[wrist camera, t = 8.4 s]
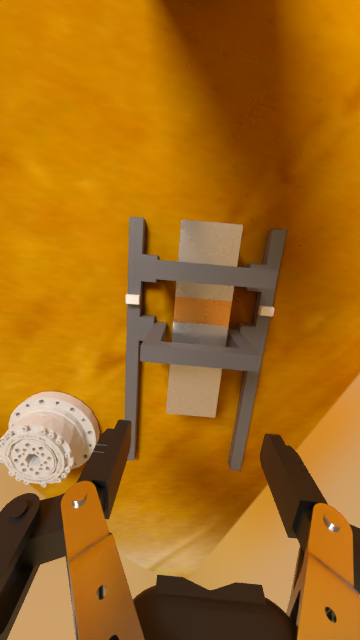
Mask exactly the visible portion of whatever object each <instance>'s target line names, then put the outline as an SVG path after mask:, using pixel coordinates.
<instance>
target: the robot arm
mask: <svg viewBox="0 0 360 640" xmlns="http://www.w3.org/2000/svg"><path fill="white" fill-rule="evenodd" d="M131 425H132V422H131V421H129V420H118V422H117V424H116V426H115V429H107V430H106V431H105V432H104V433H103V434H102V435H101V436H100V438H99V440H98V442H97V444H96V446H95V448H94V450H93V452H92V454H91V456H90V458H89V460H88V462H87V464H86V466H85V468H84V470H83V472H82V474H81V476H80V478H79V479H78V481H77V483H76V484H74V485H72V486H71V487H70V488H69V489H68V490H67V491H66V492H65V493H64V494H62V495H60V496H56V497H53V498H49V499H45V500H41V501H40V500H39V497H38V496H37V495H36V494H33V493H27V494H23V495H20V496H18V497H17V498H15V499H13V500H12V501H10V502H9V503H8V504H7V505H6V506H5V507H4V508H3V509H2V511H1V512H0V640H7V638H8V636H9V633H10V631H11V629H12V626H13V624H14V622H15V620H16V617H17V615H18V613H19V611H20V608H21V606H22V604H23V602H24V600H25V597H26V595H27V593H28V591H29V588H30V586H31V584H32V581H33V579H34V577H35V575H36V572H37V570H38V568H39V566H40V564H43V563H46V562H49V561H52V560H55V559H58V558H61V557H64V556H66V562H67V570H68V579H69V586H70V594H71V602H72V610H73V619H74V628H75V635H76V640H360V597H359V594H360V528H357V527H355V526H352V525H350V524H349V523H348V522H347V520H346V519H345V518H344V516H343V515H342V514H341V513H340V512H338V511H337V510H336V509H335V508H333V507H331V506H329V505H328V504H327V502H326V500H325V499H324V497H323V495H322V493H321V492H320V490H319V488H318V487H317V485H316V483H315V482H314V480H313V478H312V477H311V475H310V473H308V470H307V468H306V466H305V465H304V463H303V462H302V460H301V458H300V456H299V455H298V453H297V452H296V451H295V450H294V449H293V448H292V447H291V446H287V445H285V443H284V441H283V439H282V438H281V436H280V435H276V434H265V436H264V440H263V445H262V449H261V453H260V461H261V466H262V469H263V471H264V474H265V477H266V479H267V482H268V485H269V487H270V490H271V492H272V495H273V498H274V501H275V503H276V506H277V509H278V511H279V514H280V517H281V519H282V522H283V525H284V527H285V530H286V533H287V535H288V537H289V538H297V539H298V541H299V543H300V548H299V552H298V558H297V563H296V569H295V575H294V580H293V586H292V591H291V596H290V601H289V605H288V608H287V612H286V613H285V612H284V611H283V610H282V609H281V608H280V607H278V606H277V605H276V604H275V603H273V602H272V601H270V600H269V599H267V598H265V596H264V593H263V588H262V585H256V584H246V583H233V584H230V585H227V586H224V587H221V588H218V589H215V590H207V589H205V588H203V587H201V586H199V585H197V584H195V583H193V582H191V581H189V580H187V579H185V578H183V577H174V576H164V575H157V583H156V586H153V587H150V588H148V589H146V590H144V591H143V592H141V593H140V594H139V595H138V596H136V597H135V598H134V599H132V596H131V593H130V590H129V586H128V583H127V580H126V576H125V573H124V570H123V566H122V563H121V560H120V557H119V553H118V550H117V547H116V543H115V540H114V537H113V535H112V533H109V530H108V527H107V524H106V520H105V519H109V517H110V514H111V511H112V507H113V504H114V501H115V497H116V494H117V491H118V488H119V484H120V481H121V478H122V475H123V471H124V468H125V465H126V461H127V458H128V455H129V451H130V446H131Z"/></svg>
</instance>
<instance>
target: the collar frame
mask: <svg viewBox="0 0 360 640" xmlns="http://www.w3.org/2000/svg"><path fill="white" fill-rule="evenodd" d="M145 222H146V221H145V219H144V218H139V217H130V218H129V260H128V294H127V295H126V304H127V344H126V387H125V420H129V421H131V422H132V425H131V446H130V451H129V455H128V458H127V460H133V461H134V459H135V455H136V443H137V418H138V394H139V369H140V361H143V362H154V363H165V364H176V365H187V366H198V367H209V368H220V369H231V370H242V371H244V375H243V381H242V387H241V392H240V398H239V404H238V410H237V415H236V421H235V427H234V433H233V438H232V444H231V450H230V456H229V461H228V462H229V467H230V470H238V471H241V466H242V460H243V455H244V450H245V445H246V440H247V435H248V429H249V424H250V419H251V414H252V409H253V404H254V398H255V393H256V388H257V383H258V378H259V373H260V367H261V362H262V357H263V352H264V347H265V342H266V336H267V331H268V326H269V321H270V316H273V315H274V310H275V308H274V307H272V305H273V300H274V295H275V290H276V285H277V280H278V274H279V269H280V264H281V259H282V254H283V249H284V243H285V238H286V233H287V230H281V229H272V230H270V231H268V237H267V243H266V249H265V254H264V260H263V265H262V264H248V265H247V268H246V267H234V266H223V265H211V264H199V263H188V262H176V261H165V260H159V256H158V255H146V254H144V247H145ZM158 279H159V280H171V281H182V282H194V283H205V284H216V285H228V286H239V287H244V290H247V291H258V295H257V300H256V306H255V312H254V318H253V323H252V324H240V323H238V329H232V328H228V333H227V340H226V343H227V345H228V347H220V346H209V345H197V344H186V343H175V342H164V339H165V336H166V328H167V323H164V322H155V316H150V315H142V296H143V281H144V282H157V281H158ZM141 341H143V342H142V344H141ZM140 345H141V351H140Z"/></svg>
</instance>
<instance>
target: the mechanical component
mask: <svg viewBox="0 0 360 640" xmlns="http://www.w3.org/2000/svg"><path fill="white" fill-rule="evenodd" d="M99 435H100V430H99V426H98V422H97V419H96V418H95V416H94V414H93V412H92V411H91V410H90V409H89V408H88V407H87V406H86V405H85V404H84V403H83V402H82V401H80V400H78V399H77V398H75V397H73V396H71V395H68V394H65V393H60V392H54V391H52V392H41V393H38V394H35V395H33V396H31V397H30V398H28V399H27V400H25V401H24V402H23V403H21V404H20V405H19V406H18V407H17V408H16V409H15V411H14V412H13V413H12V414H11V418H10V421H9V430H8V431H7V432H6V433H5V435H4V436H3V437H2V438H1V442H0V455H1V457H0V462H1V463H3V462H4V464H5V465H6V466H7V468H8V469H9V470H10V471H9V473H8V474H9V475H10V476H13V475H16V476H17V477H16V480H17V481H20V480H21V479H22V480H25V481H24V484H26V485H28V484H29V483H36V484H41V486H42V487H46V486H47V484H52V483H55V482H57V483H60V482H61V481H62V479H63V478H66V477H67V476H68V473H69V472H70V471H71V469H74V468H77V467H80V466H81V465H82V464H84V463H85V462H86V461H88V460H89V458H90V456H91V454H92V452H93V450H94V448H95V446H96V444H97V442H98V440H99Z"/></svg>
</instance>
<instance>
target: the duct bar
mask: <svg viewBox="0 0 360 640" xmlns="http://www.w3.org/2000/svg"><path fill="white" fill-rule="evenodd" d="M242 230H243V225H241V224H229V223H217V222H205V221H194V220H182V219H181V231H180V244H179V257H178V262H188V263H199V264H211V265H223V266H234V267H237V264H238V257H239V251H240V244H241V237H242ZM233 292H234V286H228V285H216V284H205V283H194V282H182V281H177V282H176V294H175V307H174V320H173V332H172V342H175V343H186V344H197V345H209V346H220V347H226V340H227V333H228V326H229V319H230V312H231V305H232V299H233ZM221 374H222V369H220V368H209V367H198V366H187V365H176V364H170V370H169V383H168V395H167V408H166V413H168V414H179V415H190V416H201V417H212V418H215V415H216V408H217V402H218V395H219V388H220V381H221Z"/></svg>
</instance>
